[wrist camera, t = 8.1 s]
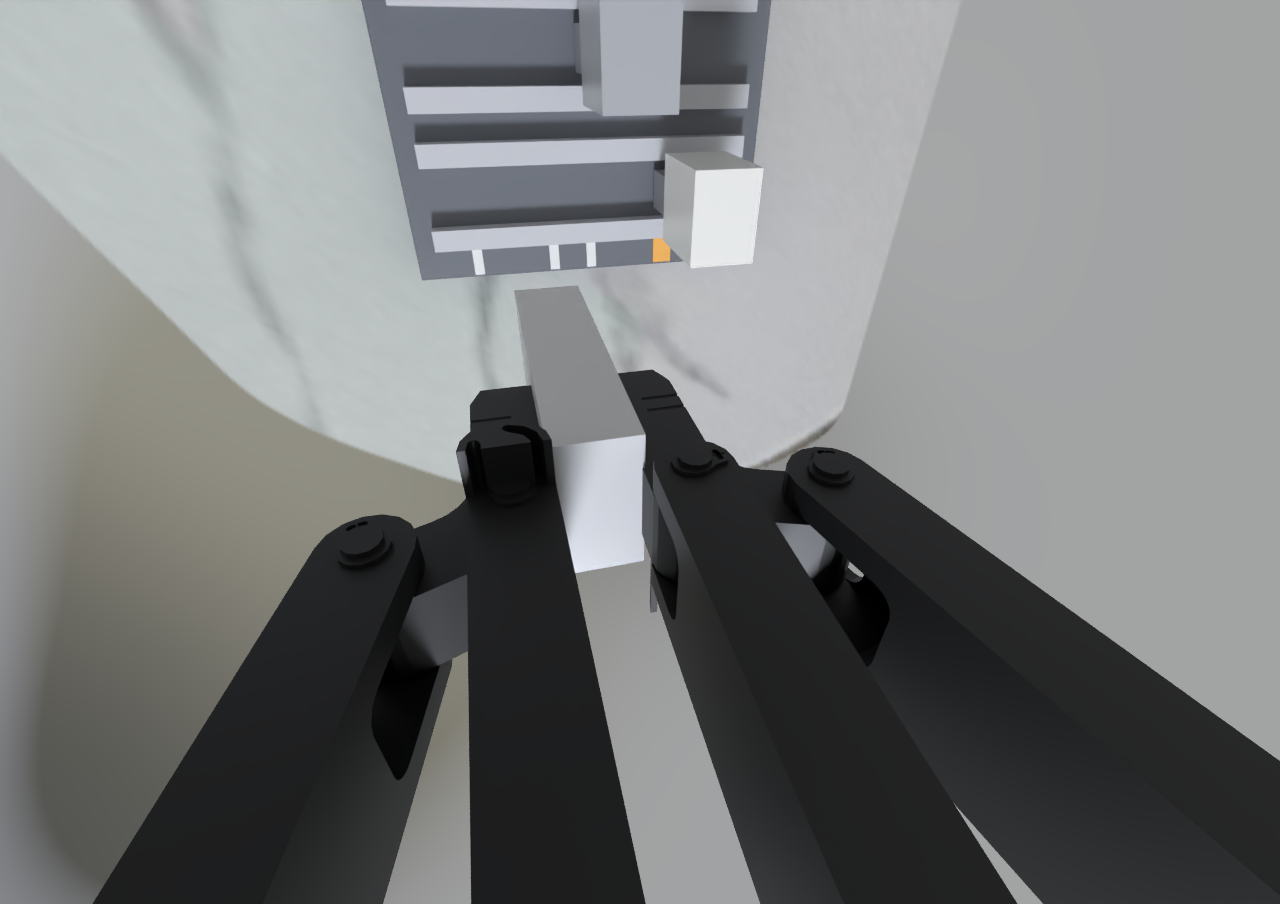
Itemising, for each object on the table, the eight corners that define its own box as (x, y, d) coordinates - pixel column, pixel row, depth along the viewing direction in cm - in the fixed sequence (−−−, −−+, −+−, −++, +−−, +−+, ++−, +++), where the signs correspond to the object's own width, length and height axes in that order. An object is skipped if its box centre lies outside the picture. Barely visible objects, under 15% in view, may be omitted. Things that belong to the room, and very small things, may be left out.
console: (351, -73, 24) (340, -84, 21) (759, -55, 27) (785, -63, 25) (424, 268, 32) (421, 285, 30) (730, 247, 35) (748, 261, 33)
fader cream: (652, 145, 29) (695, 170, 24) (709, 144, 30) (763, 167, 24) (651, 228, 31) (690, 268, 26) (703, 225, 32) (752, 263, 27)
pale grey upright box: (569, -9, 25) (598, -21, 19) (637, -7, 25) (684, -19, 20) (574, 100, 27) (602, 116, 22) (637, 99, 28) (679, 114, 22)
